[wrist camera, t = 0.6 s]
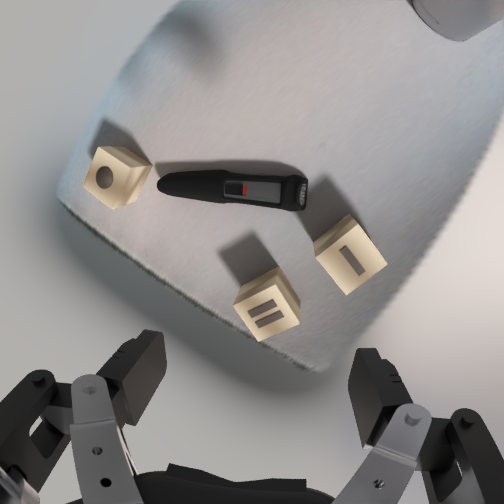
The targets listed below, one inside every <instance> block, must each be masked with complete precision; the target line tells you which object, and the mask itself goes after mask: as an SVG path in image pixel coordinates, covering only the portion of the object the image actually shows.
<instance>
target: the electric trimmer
mask: <svg viewBox="0 0 504 504" xmlns="http://www.w3.org/2000/svg"><path fill="white" fill-rule="evenodd" d="M157 188H158V190H159V191H160V192H162V193H165V194H167V195H171V196H176V197H182V198H189V199H195V200H201V201H207V202H214V203H223V204H224V203H241V204H249V205H256V206H263V207H270V208H277V209H283V210H287V211H297V210H304V209H305V207H306V198H307V188H308V179H306V178H302V177H301V176H299V175H291V176H286V177H285V176H262V175H245V174H236V173H231V172H229V171H226V170H203V171H187V172H176V173H169V174H167V175H165V176H164V177H162V178H161V179H159V181H158V182H157Z"/></svg>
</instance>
